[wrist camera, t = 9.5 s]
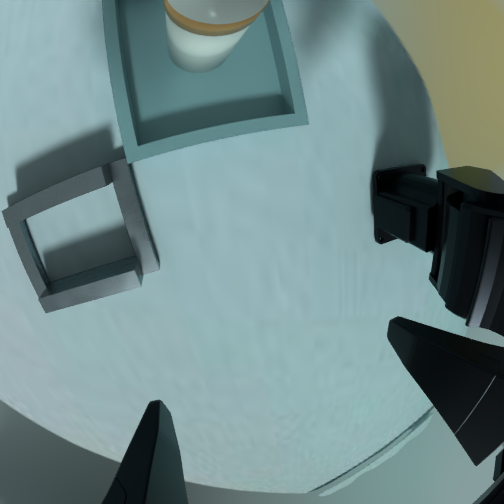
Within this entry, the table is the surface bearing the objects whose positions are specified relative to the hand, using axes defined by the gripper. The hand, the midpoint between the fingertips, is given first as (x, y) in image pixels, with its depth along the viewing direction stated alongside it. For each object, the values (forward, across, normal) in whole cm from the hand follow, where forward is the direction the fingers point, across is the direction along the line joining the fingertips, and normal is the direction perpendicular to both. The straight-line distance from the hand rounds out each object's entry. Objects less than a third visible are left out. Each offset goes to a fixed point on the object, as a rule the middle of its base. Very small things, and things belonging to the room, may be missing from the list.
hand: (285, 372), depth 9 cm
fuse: (+11, -1, -14) cm, 18 cm away
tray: (+12, -1, -14) cm, 18 cm away
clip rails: (+12, +10, -4) cm, 16 cm away
